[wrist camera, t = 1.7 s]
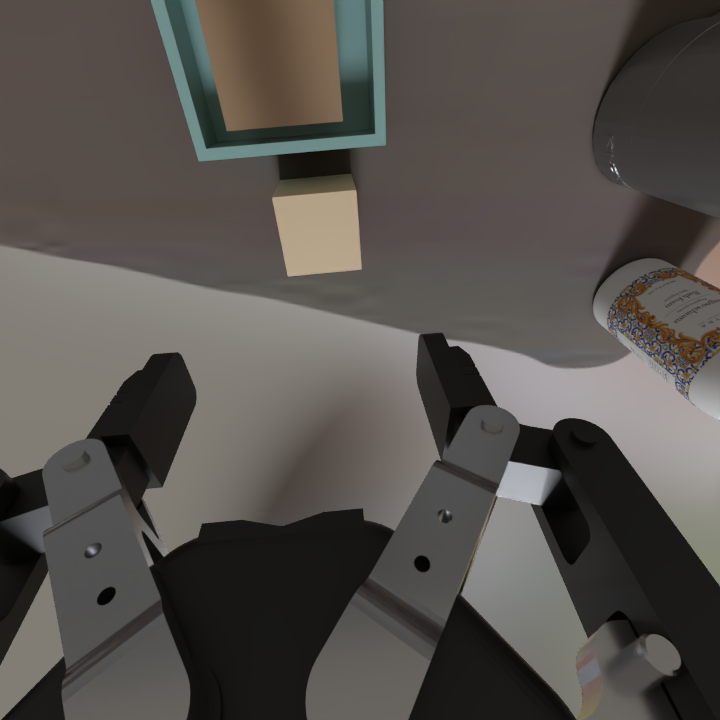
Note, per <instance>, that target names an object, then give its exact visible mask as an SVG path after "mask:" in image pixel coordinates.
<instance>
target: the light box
mask: <svg viewBox="0 0 720 720" xmlns="http://www.w3.org/2000/svg"><path fill="white" fill-rule="evenodd" d="M272 200H273V205H274V210H275V215H276V219H277V224H278V229H279V234H280V239H281V244H282V249H283V254H284V259H285V264H286V269H287V274H288V276H297V275H308V274H318V273H329V272H339V271H349V270H360V269H362V268H361V253H360V237H359V222H358V207H357V192H356V187H355V184H354V181H353V178H352V175H351V174H342V175H331V176H320V177H309V178H298V179H286V180H280V181H279V183H278V185H277V188H276V190H275V192H274V194H273V197H272Z"/></svg>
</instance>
